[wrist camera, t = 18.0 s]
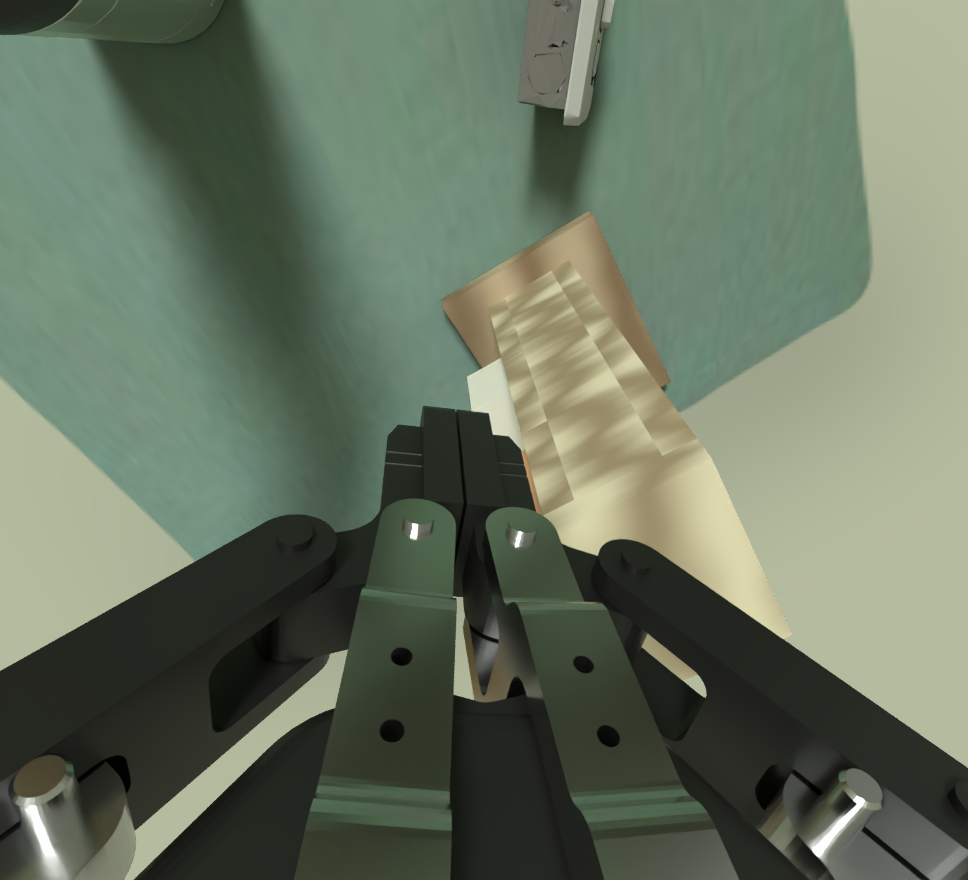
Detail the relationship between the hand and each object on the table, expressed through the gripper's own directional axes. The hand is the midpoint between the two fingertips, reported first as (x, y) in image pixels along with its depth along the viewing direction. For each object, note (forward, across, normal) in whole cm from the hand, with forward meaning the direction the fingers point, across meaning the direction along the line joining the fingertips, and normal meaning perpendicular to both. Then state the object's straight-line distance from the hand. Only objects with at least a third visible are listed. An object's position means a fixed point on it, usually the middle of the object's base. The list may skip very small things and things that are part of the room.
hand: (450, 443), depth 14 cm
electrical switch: (+35, +7, +10) cm, 37 cm away
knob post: (+35, +12, -10) cm, 38 cm away
